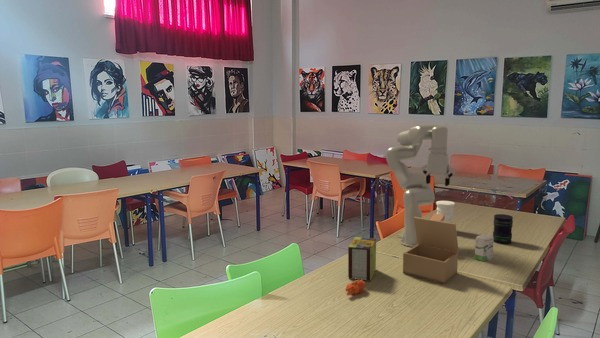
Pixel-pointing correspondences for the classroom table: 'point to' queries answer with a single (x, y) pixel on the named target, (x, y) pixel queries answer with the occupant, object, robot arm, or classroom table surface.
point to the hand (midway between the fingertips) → (437, 184)
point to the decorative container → (446, 210)
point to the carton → (430, 263)
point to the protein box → (362, 258)
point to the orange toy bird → (355, 287)
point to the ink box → (484, 247)
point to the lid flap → (436, 233)
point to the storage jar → (502, 229)
